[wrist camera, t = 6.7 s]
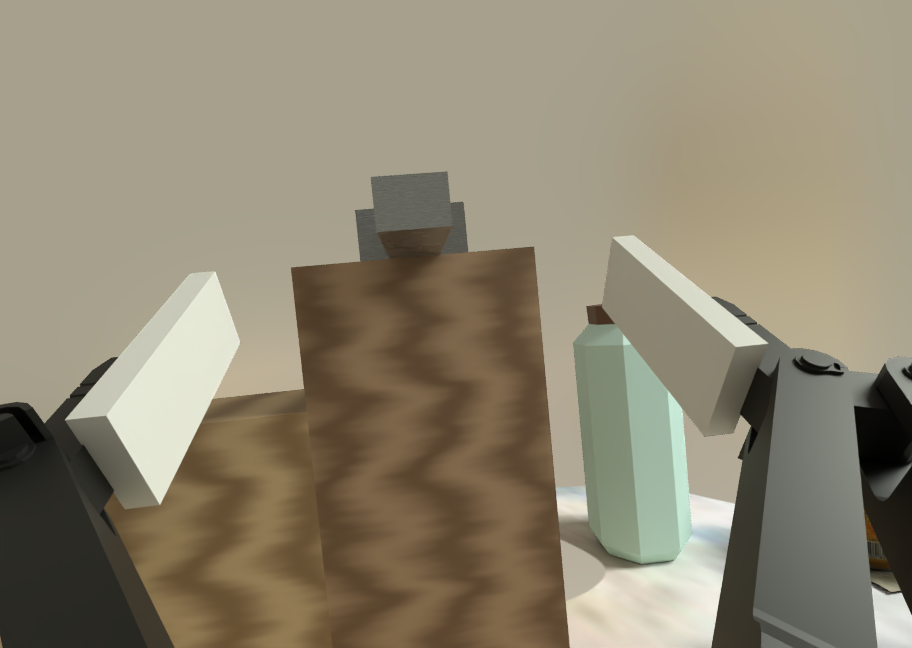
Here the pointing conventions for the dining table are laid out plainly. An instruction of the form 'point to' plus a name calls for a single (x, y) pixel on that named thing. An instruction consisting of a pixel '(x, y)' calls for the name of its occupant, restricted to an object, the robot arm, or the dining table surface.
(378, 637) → the stepped stand
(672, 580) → the dining table surface
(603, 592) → the dining table surface
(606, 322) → the water bottle
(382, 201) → the grey t-shaped block
